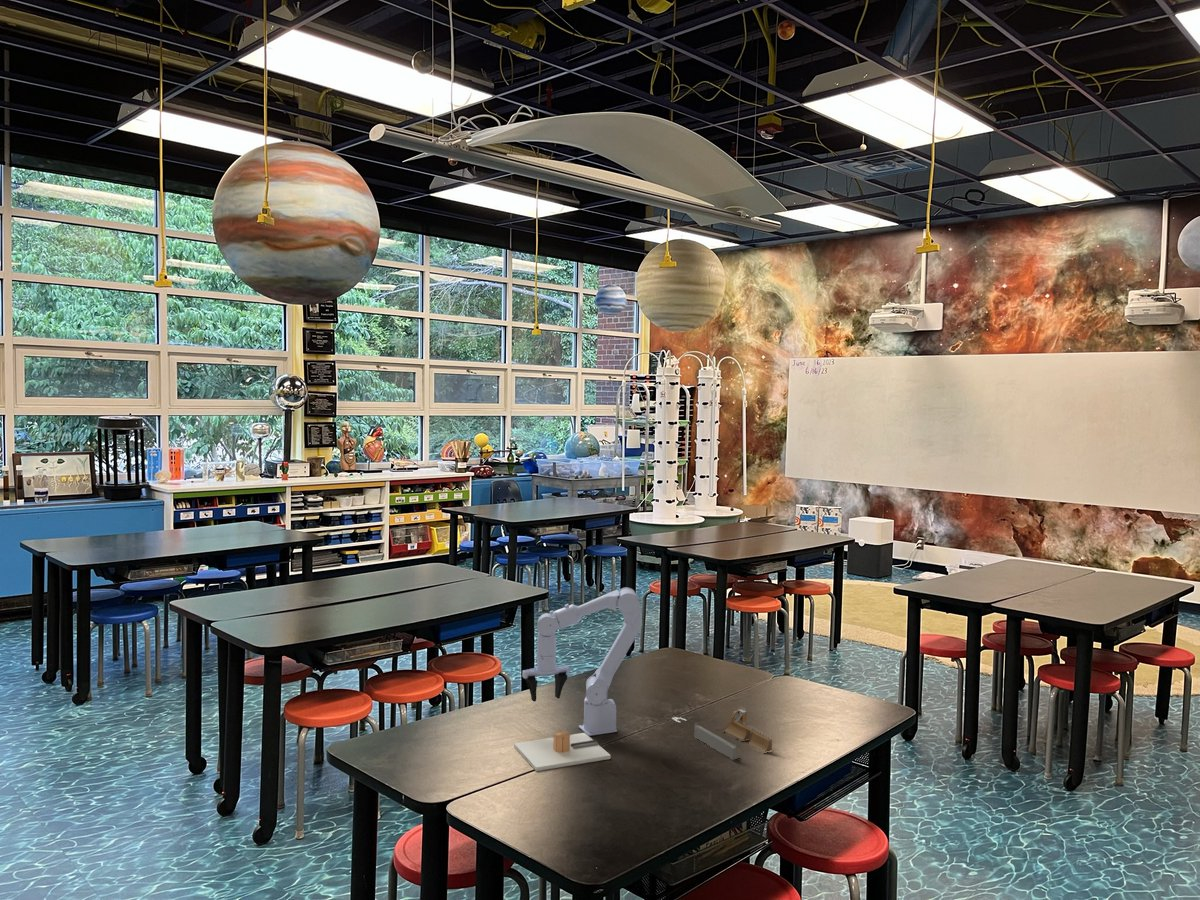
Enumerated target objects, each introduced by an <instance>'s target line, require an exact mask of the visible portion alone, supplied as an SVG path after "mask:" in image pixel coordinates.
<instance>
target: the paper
mask: <svg viewBox="0 0 1200 900" xmlns="http://www.w3.org/2000/svg"><path fill="white" fill-rule="evenodd" d="M671 719H672V720H673V721H675V722H677V723H678V724H679V723H682V721H680V720H683V721H688V719H685V718H682V717H681V716H680V717H678V716H673V717H672V718H671Z"/></svg>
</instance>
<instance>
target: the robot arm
mask: <svg viewBox="0 0 1200 900" xmlns="http://www.w3.org/2000/svg"><path fill="white" fill-rule="evenodd" d="M617 608H618V610H619V612H620V613H621V614H622V616H623V618H624V624H623V626H622V628H621V629H620V631H619V633H618V634H617V636H616V638H615V639H614V641H613V643H612V645H611V647H610V649H609V651H607V653H606V656H605V658H604V659H603V661H602V663H600V666H599V667H598V668H597V669H596V670H595V672H594V673H593V674H592V675H591V676H589V677H588V678H587V680H585V681H586V682H585V688H586V690H585V698H583V699H584V700H583V701H584V702H583V704H584V705H583V724H582V725H581V724H579V725H578V728H579V729H580V730H581V731H582V732H583V733H585V734H587V735H588V736H589V737H591V736H598V735H605V734H610V733H617V732H618V730H617V705H616V703H615V701H614V699H612V698H608V691H609V688H610V686H611V683H612V681H613V678H614V675H615V674H616V672H617V670H618V669H619V667H620V665H621V664H622V662H623V660H624V658H625V657H626V655H627V653H628V651H630V648H631V646H632V644H633V643H634V642H635V639H636V637H637V635H638V634H639V633H640V630H641V629H642V627H643V619H642V606H641V603H640V600H639V597H638V595H637V594H636V591H635V590H634V589H633V588H631V587H627V586H625V587H622V588H620V589H617V590H612V591H610V592H608V593H605V594H603V595H601V596H599V597H596V598H594V599H591V600H589V601H587V602H585V603H583V604H580V605H575V604H573V603H572V604H569V603H566V604H564V607H562V608H559V609H556V610H553V609H552V610H550V611H549V613H547V612H546V613H542V614H541V615H540V616H539V617H538V619H537V624H536V625H537V626H536V628H537V631H538V632H537V640H536V667H533V668H529V669H528V668H527V669H523V670H522V671H521V673H522V674H521V677H522V678H523V679H524V680H525V681H526V684H527V687H528V689H529V693H530V699H531V701H533V703H534V702H537V688H538V686H537V685H538V682H539V681H538V680H537V677H544V676H545V677H546V676H552V675H554V684H555V685H554V687H555V689H554V697H555V698H556V699H561V695H562V691H563V688H564V686H565V683H566V682H567V680H568V677H569V676H568V674H571V673H570V671H571V670H570V668H571V667H570V666H568V665H557V639H556V632H557V630H563V629H565V628H568V627H570V626H572V625H575V624H578V623H580V621H581V619H582V617H584V616H587V615H590V614H594V613H596V612H599V611H602V610H604V609H609V610H611V611H615V612H616V611H617Z"/></svg>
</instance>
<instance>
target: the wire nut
mask: <svg viewBox="0 0 1200 900" xmlns="http://www.w3.org/2000/svg"><path fill="white" fill-rule="evenodd" d="M553 733H554V734H553V737H554V742H553V750H554V751H556V752H567V751H569V750H570V735H571V733H570V731H567V730H556V731H554V732H553Z"/></svg>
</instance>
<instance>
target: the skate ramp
mask: <svg viewBox="0 0 1200 900" xmlns="http://www.w3.org/2000/svg"><path fill="white" fill-rule="evenodd" d="M731 713H732V714H731V716H730V719H729V721H728V724H727V727H726V728H725V729H724V731H726V732H728V733H729V734H732V735H734V736H736V737H738V738H740V739H742V740H746V739H750V740H749V741H748V743H749V744H751V745H753V746H756V747H757V748H760V749H762V750H763V751H765V752H766V751H770V750H773V738H772V737H768V736H766V735H765V732H762V731H761V730H760V729H757V728H756V727H753V726H751V727H749V726H747V709H746V707H743V706H739V708H738V709H735V710H733V711H732V712H731ZM693 731H694V735H693V737H695V738H694V739H696V738H697V739H699V740H700V741H699V740H698V741H699V742H701V741H702V742H704V743H706V744H707V745H709V746H710V747H709V746H708V747H709V748H711V747H712V748H714V749H716V750H717V751H719V752H721V753H723V754H725V755H726V756H728V757H730V758H731V759H736V758H741V757H740V756H739V754H738V753H737V744H736V743H735V744H733V743H731V742H729V741H727V740H725V739H724V738H722V737H720V736H719V735H717V734H715V733H714V732H712V731H710V730H708V729H707V728H704V727H703V726H701V725H700V724H699V722H696V725H694V730H693ZM764 735H765V736H764ZM697 739H696V740H697ZM702 742H701V743H702ZM704 743H703V744H704ZM706 744H705V745H706ZM707 745H706V746H707ZM712 748H711V749H712ZM714 749H713V750H714ZM716 750H715V751H716ZM717 751H716V752H717ZM719 752H718V753H719ZM721 753H720V754H721ZM726 756H725V757H726ZM731 759H730V760H731Z"/></svg>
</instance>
